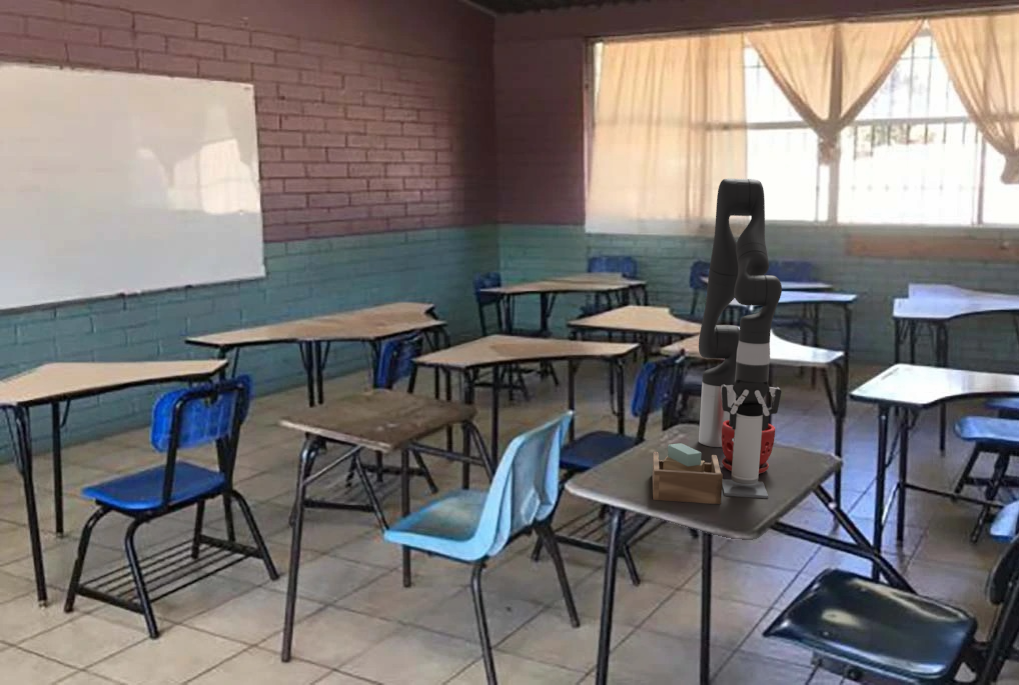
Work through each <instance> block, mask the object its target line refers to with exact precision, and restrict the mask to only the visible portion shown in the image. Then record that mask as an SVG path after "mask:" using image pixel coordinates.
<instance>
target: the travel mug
mask: <svg viewBox="0 0 1019 685" xmlns="http://www.w3.org/2000/svg"><path fill="white" fill-rule="evenodd" d="M761 403H762V402H761ZM762 406H763V404H761V405H760V404H759V403H757V404H755V403H751V402H750V403H744V402H742V404H739V406H738V410H737V411H736V428H735V432H734V438H733V442H734V446H733V461H732V471H731V476H730V477H731V478H730V480H733V481H734V482H736V483H740V484H748V485H749V484H755V483H757V482H759V462H760V449H761V435H762V422H763V407H762Z"/></svg>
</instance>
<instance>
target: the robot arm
mask: <svg viewBox="0 0 1019 685" xmlns="http://www.w3.org/2000/svg"><path fill="white" fill-rule="evenodd" d="M717 189H718V190H717V197H716V209H715V211H716V212H715V222H714V223H715V225H714V238H713V243H712V244H713V245H712V249H711V250H712V251H711V256H710V263H709V270H708V278H707V289H706V299H705V306H704V311H703V316H702V317H703V318H702V321H701V326H700V330H699V336H698V352H699V355H700V356H701V357H702V358H705V359H711V360H712V359H713V360H714V359H715V360H716V359H719V360H720V359H721V360H723V361H722V363H720V364H719V365H716V366H715V367H712V368H708V369H706V370H704V371H703V373H702V375H701V376H702V379H701V398H700V416H699V417H700V418H699V429H698V430H699V431H698V443H699V444H701V445H704V446H707V447H711V448H722V440H721V436H722V424H723V422H724V421H726V420H729V424H730V427H732V429H735V428H736V411H737V410H738V406H739V404H742V402H744V403H750V402H751V403H755V404H757V403H759V404H760V405H761V404H763V406H762V407H763V422H762V431H765V429H767V428H768V424H769V423H770V422H769V420H770V416H771V415H773V414H774V415H776V414H777V413H778V410H779V407H780V406H779V405H780V400H781V398H782V397H781V396H782V389H781V388H780V387H779V386H776V387H774V386H773V387H772V386H770V385H769V374H770V373H769V372H770V362H771V345H770V342H771V331H772V323H773V319H774V316H775V313H776V309H777V306H778V305H779V302H780V299H781V296H782V291H783V288H782V283H781V281H780V279H779V278H778V277H777V276H775V275H768V274H767V273H768V271H769V268H770V262H769V256H768V249H767V245H766V234H765V233H766V213H765V212H766V210H765V209H766V208H765V207H766V206H765V191H764V190H765V189H764V186H763V183H762V181H760V180H758V179H754V178H753V179H752V178H724V179H722V180H721V181H720V183H719V185H718V188H717ZM731 216H732V217H735V216H736V217H751V218H750V221H749V222H748V225H746V227H745V229H743V231H742V232H741V233H740V235H739V237H738V239H737V240H736V238H735V236H734V234H733V232H732V229H731V225H730V218H731ZM733 300H736V302H737V303H738V304H740V305H742V306H751V307H752V306H758V307H759V306H760V307H762V308H761V309H760V310H759V311H758V312H756V313H753V314H747V315H744V316H742V317H741V318H740V321H739V327H738V326H737V325H730V324H728V325H727V324H723V325H722V324H717V323H718V321H719V318H720V316H721V314H722V313H723V311H725V309H726V308H727V307H728V306H729V305H730V303H732V302H733ZM768 393H770V395H771V397H772V401H771V407H768V406H767V404H766V402H765V400H764V398H765V397H766V396H767V395H768ZM761 402H762V403H761ZM732 441H733V442H734V438H733V439H732Z"/></svg>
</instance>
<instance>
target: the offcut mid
mask: <svg viewBox="0 0 1019 685" xmlns="http://www.w3.org/2000/svg"><path fill="white" fill-rule="evenodd" d="M663 460H664V463H663V470H676V471H692V472H704V465H705V463H706V461H705V460H702V459H701V465H695V466H686V465H684V464H682V463H680V462H678V461H676V460H674V459H672V458H670V457H668V455H667V456H666V457H665V458H664V459H663Z"/></svg>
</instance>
